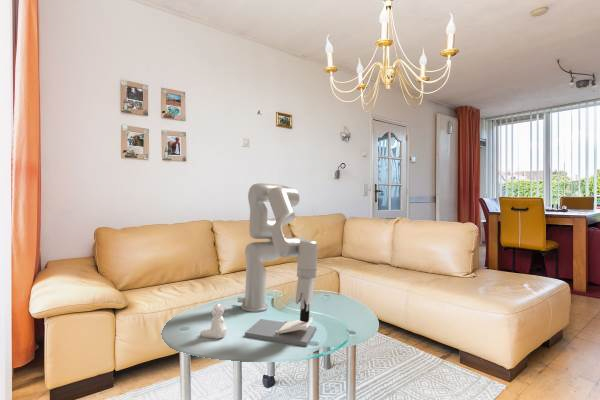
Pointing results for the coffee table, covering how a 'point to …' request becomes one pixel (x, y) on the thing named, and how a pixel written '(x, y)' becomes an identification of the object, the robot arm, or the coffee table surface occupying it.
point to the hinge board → (271, 333)
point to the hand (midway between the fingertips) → (304, 320)
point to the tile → (295, 325)
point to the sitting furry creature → (216, 324)
